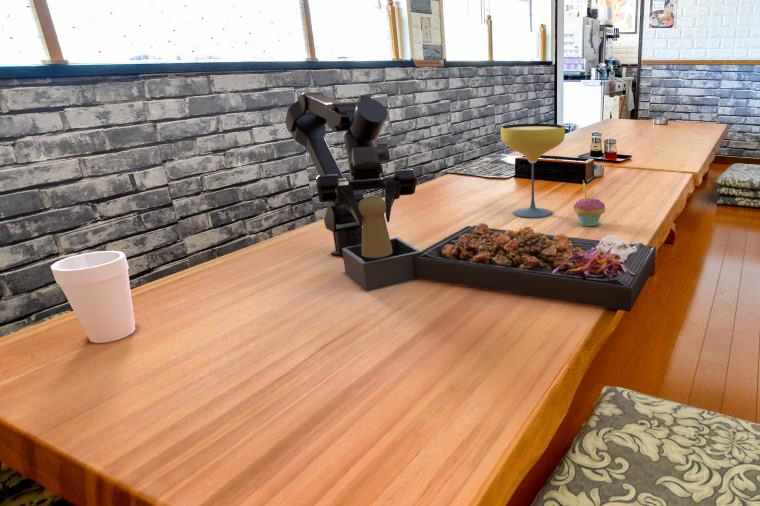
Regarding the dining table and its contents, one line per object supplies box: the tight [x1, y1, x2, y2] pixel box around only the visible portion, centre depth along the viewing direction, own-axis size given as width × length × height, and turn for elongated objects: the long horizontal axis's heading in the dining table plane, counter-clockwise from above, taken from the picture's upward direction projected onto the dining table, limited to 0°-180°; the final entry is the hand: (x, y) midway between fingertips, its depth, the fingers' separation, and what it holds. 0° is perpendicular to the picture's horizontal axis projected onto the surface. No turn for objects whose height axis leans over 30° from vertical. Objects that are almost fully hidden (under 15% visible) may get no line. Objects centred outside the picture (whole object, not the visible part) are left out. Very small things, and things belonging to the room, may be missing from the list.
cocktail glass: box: [500, 123, 566, 219], centre depth 153 cm, size 18×18×25 cm
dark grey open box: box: [342, 236, 423, 292], centre depth 111 cm, size 13×13×6 cm
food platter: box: [412, 222, 657, 313], centre depth 109 cm, size 45×25×10 cm, turn 66°
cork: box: [358, 196, 393, 258], centre depth 103 cm, size 6×6×11 cm
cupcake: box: [573, 179, 606, 227], centre depth 144 cm, size 9×8×12 cm
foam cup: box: [50, 250, 136, 344], centre depth 86 cm, size 10×9×13 cm
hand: (374, 222), depth 101 cm, fingers closed on cork, 5 cm apart
